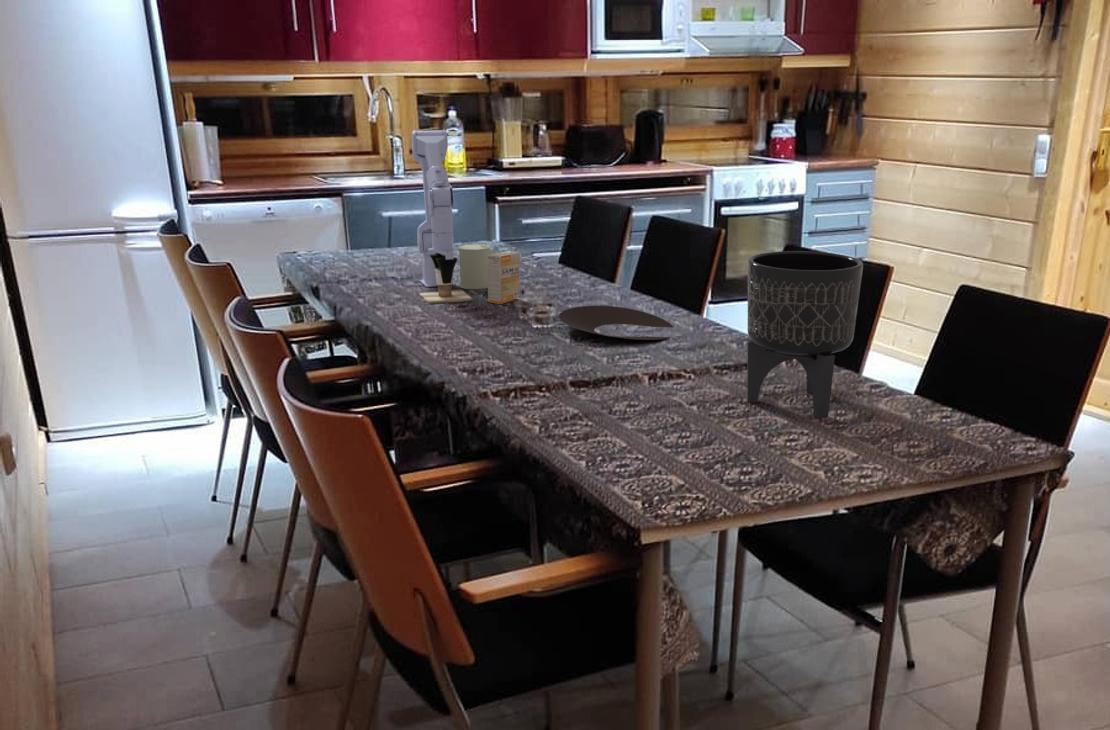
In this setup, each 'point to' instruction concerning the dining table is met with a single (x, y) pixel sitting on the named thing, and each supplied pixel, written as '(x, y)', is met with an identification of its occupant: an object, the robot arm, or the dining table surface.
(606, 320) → the plate
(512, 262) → the supplement box
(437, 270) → the cap
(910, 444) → the dining table surface
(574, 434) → the dining table surface
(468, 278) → the can
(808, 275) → the planter
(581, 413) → the dining table surface
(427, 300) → the square wooden board
